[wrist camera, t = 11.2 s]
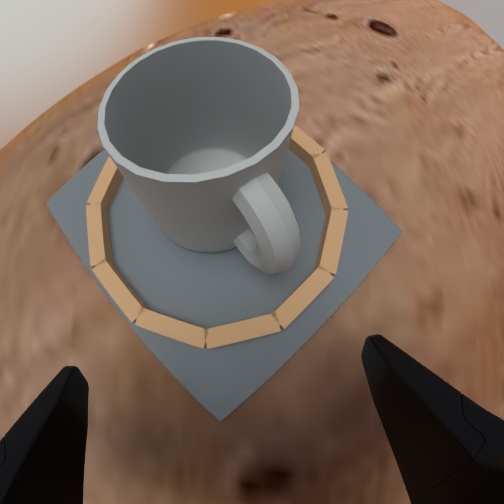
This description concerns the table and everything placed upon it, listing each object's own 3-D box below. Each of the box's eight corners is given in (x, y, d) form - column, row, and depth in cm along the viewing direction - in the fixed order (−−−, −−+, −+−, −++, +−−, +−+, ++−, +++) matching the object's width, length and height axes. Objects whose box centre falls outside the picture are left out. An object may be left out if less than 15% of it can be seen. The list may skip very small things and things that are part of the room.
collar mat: (398, 234, 19) (411, 225, 17) (220, 419, 16) (218, 428, 14) (216, 76, 21) (215, 60, 20) (50, 206, 18) (37, 196, 16)
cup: (228, 129, 19) (227, 20, 11) (324, 249, 18) (395, 179, 9) (133, 185, 18) (76, 91, 10) (221, 322, 16) (203, 314, 8)
